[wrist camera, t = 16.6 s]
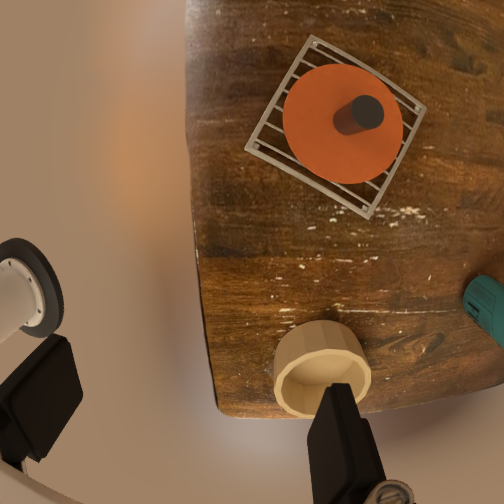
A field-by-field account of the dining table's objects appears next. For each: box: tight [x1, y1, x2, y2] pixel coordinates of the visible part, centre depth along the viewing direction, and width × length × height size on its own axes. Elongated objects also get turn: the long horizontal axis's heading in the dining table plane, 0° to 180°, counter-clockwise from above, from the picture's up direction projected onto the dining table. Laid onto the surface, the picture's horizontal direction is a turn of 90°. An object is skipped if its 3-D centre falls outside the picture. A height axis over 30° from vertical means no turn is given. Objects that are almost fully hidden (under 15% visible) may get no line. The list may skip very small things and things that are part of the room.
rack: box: [244, 34, 427, 220], centre depth 29 cm, size 15×15×2 cm
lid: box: [282, 64, 403, 184], centre depth 24 cm, size 13×13×8 cm
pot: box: [274, 320, 371, 419], centre depth 35 cm, size 12×12×6 cm
